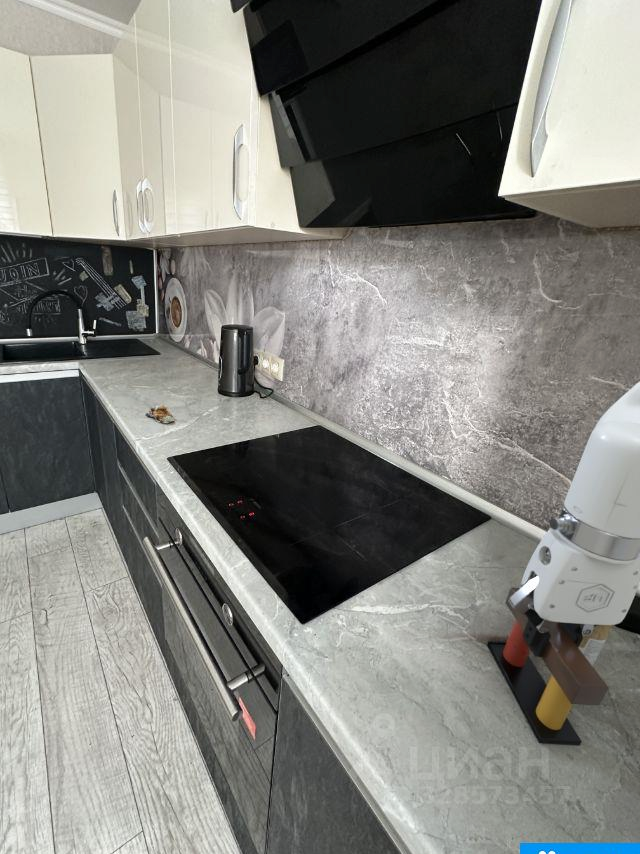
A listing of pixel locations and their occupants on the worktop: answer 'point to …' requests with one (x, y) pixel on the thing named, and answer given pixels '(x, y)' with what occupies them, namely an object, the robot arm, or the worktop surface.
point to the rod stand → (534, 691)
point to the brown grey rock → (160, 414)
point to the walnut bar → (567, 664)
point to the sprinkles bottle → (594, 642)
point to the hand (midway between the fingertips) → (546, 646)
